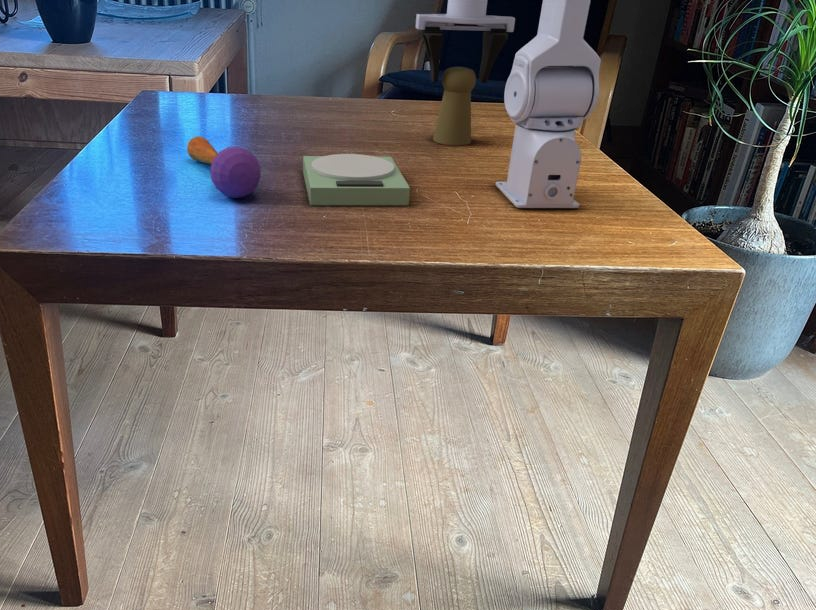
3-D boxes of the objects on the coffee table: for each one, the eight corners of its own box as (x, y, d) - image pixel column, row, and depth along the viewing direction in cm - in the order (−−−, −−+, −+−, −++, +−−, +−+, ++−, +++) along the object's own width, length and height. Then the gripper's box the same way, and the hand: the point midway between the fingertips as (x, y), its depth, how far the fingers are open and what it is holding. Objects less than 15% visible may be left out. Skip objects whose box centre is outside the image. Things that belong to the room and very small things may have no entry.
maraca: (222, 129, 102) (270, 154, 86) (217, 172, 105) (263, 204, 88) (179, 123, 100) (221, 148, 83) (175, 168, 102) (215, 200, 86)
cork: (470, 146, 115) (479, 72, 109) (431, 143, 116) (438, 69, 110) (471, 137, 120) (480, 66, 114) (434, 134, 121) (441, 63, 115)
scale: (408, 205, 89) (410, 183, 88) (310, 205, 88) (310, 183, 86) (390, 172, 101) (391, 152, 100) (303, 172, 100) (303, 152, 98)
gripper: (509, -18, 111) (496, 77, 117) (415, -21, 109) (407, 75, 116) (524, -15, 104) (510, 86, 111) (424, -18, 103) (416, 84, 110)
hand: (458, 81), depth 113 cm, fingers open, 7 cm apart
